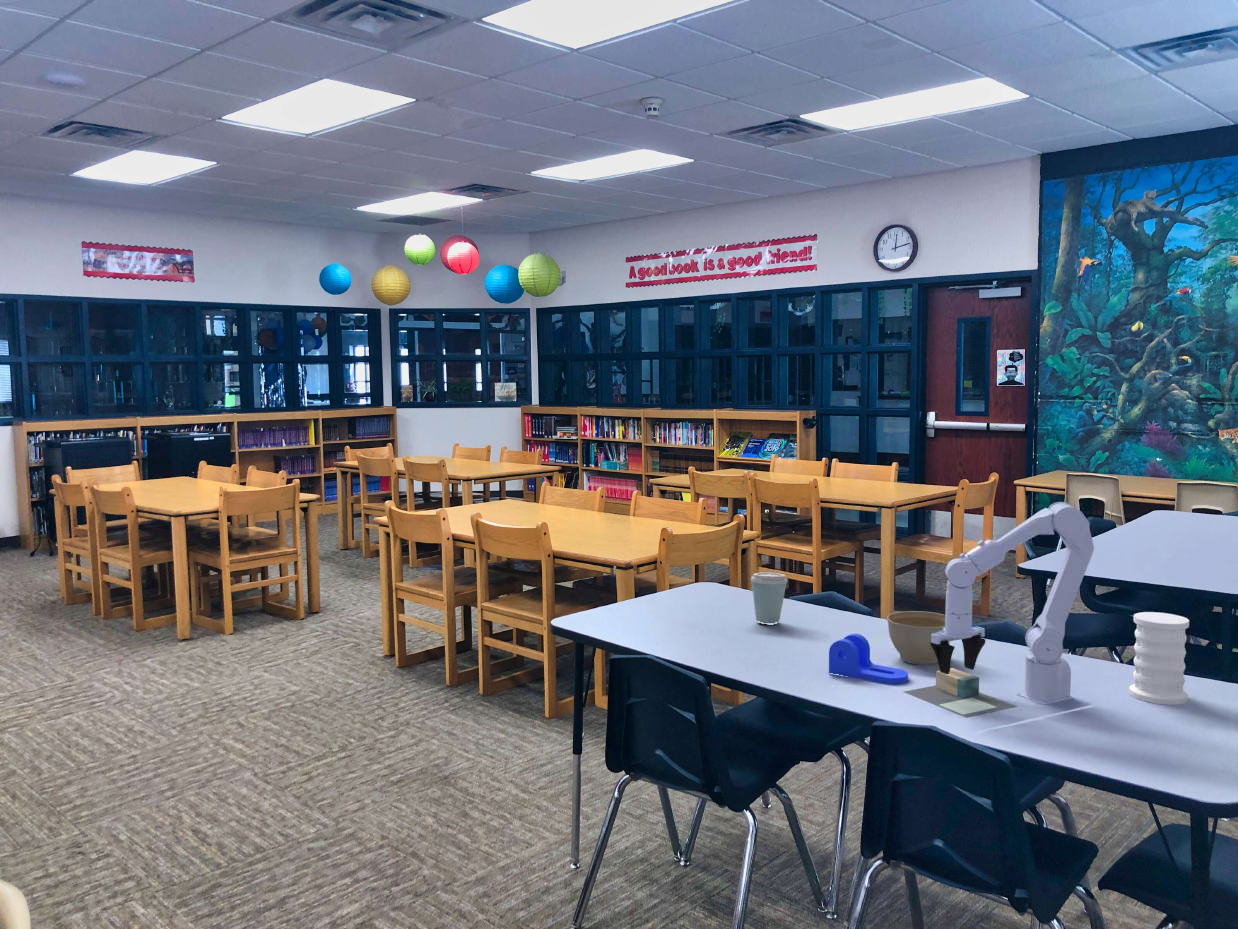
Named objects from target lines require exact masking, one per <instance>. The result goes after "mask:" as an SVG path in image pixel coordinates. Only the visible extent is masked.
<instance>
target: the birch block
mask: <svg viewBox="0 0 1238 929" xmlns="http://www.w3.org/2000/svg"><path fill="white" fill-rule="evenodd" d="M935 685H936V688H937V689H940V690H942V691H945V692H948V693H950V694H953V695H955V696H958V697H960V698H966V697H971V696H976V695H979V692H980V677H979V676H976V675H973V674H970V673H968V672H964V671H961V670H959V669H956V668H953V667H950V672H949V674H944V673H941V672H940V670H936V672H935Z"/></svg>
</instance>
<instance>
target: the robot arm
mask: <svg viewBox="0 0 1238 929" xmlns="http://www.w3.org/2000/svg"><path fill="white" fill-rule="evenodd" d="M1086 517H1087V516H1085V515H1084V513H1083V512H1082V511H1081V510H1080V509H1078V508H1077V507H1074V506H1072V505H1071V504H1070V503H1068V502H1065V501H1058V502H1053V503H1052V504H1050V505H1049V507H1048V508H1047V507H1045V508H1043V509H1040V510H1039V511H1038V512H1036V513H1035V514H1033V515H1032V516H1030V517H1028V519H1026V520H1024V521H1023V522H1022V523H1020V524H1019V525H1017V526H1016V527H1014V528H1013V529H1011V530H1010V531H1009V532H1007V533H1006V534H1005V535H1003V536H1001V537H999V539H995V540H994V539H987V540H985V541H984V540H983V539H981V540H979V541H978V542H977V544H978V545H977V546H975V547H974V548H972V549H971V550H969V551H967V552H966V553H964V552H962V553H960V554H959V556H958V557H960V558H954V559H951V560H950V561H949V562H948V563H947V565H946V566H945V569H944V574H945V577H946V578H947V581H946V591H945V612H944V613H945V614H944V615H945V627H943V630H942V631H939V632H937V633H934V634H931V641H930V645H931V646H932V648H933V650H934V652H935V654H936V657H937V660H938V662H937V664H938V668H939V671H940V672H941V673H944V674H949V672H950V668H951V663H952V662H951V660H952V655H953V654H954V650H955V648H956V646H954V645H951V644H950V642H952V641H958V640H961V643H962V648H963V656H964V657H963V663H964V668H966V669H969V670H975V666H976V663H977V660H978V657H979V655H980V652H981V650H982V649H983V647H984V646H985V644H986V639H985V638H984V637H985V630H986V629H985V628H984V627H981V626H973V622H972V621H973V599H974V598H973V597H974V596H973V595H974V593H973V584H974V582H975V580H976V577H981V575H984V574H985V573H986V572H989V570H991V569H992V568H994V567H996V566H998V565H999V564H1001V563H1003V562H1004V561H1005V556H1006V554H1007V553H1008V552H1010V551H1011V550H1013V549H1014V548H1015V549H1016V548H1017V547H1018V546H1020V545H1022V544H1023V543H1026V542H1027V541H1029V540H1030V539H1032V538H1035V537H1036V536H1038V535H1055V532H1056V533H1057V534H1058V535H1059V536H1060V538H1061V540H1062V542H1063V544H1064V545H1065V547H1066V551H1065V552H1064V553H1065V554H1064V556H1063V559H1062V561H1061V564H1060V566H1059V569H1058V571H1057V574H1056V576H1055V579H1054V581H1053V585H1052V587H1051V588H1050V592H1049V593H1048V597H1047V599H1046V601H1045V604H1044V606H1043V610H1042V612H1041V614H1040V615H1038V617H1037V618H1036V620H1035V622H1034V624H1033V626H1032V627H1030V628H1029V629H1027V631H1026V634H1025V635H1024V639H1025V643H1026V646H1027V647H1028V648H1029V650H1028V652H1027V653H1026V655H1025V673H1024V674H1025V678H1024V679H1025V680H1024V691H1020V692H1016V693H1015V695H1016V696H1019V697H1021V698H1024V699H1027V700H1030V701H1033V702H1036V703H1038V704H1041V705H1045V706H1047V705H1051V704H1055V703H1059V702H1063V701H1068V700H1073V699H1074V697H1073V696H1072V695H1071V683H1072V682H1071V681H1072V680H1071V679H1072V678H1071V677H1072V670H1071V666H1070V664H1069V663H1068V661H1067V660H1066V659H1065V658H1063V657H1062V655H1063V654H1064V653H1063V652H1064V646H1063V641H1064V637H1065V634H1066V633H1065V631H1066V630H1065V629H1066V622H1067V620H1068V617H1069V614H1070V612H1071V609H1072V606H1073V604H1074V602H1075V598H1076V597H1077V595H1078V594H1077V593H1078V591H1079V589H1080V586H1081V584H1082V582H1083V578H1084V577H1085V574H1086V572H1087V569H1088V566H1089V564H1090V561H1091V559H1092V556H1093V553H1094V549H1095V547H1094V541H1093V537H1092V533H1091V530H1090V521H1089V520H1088V519H1087V518H1086ZM948 641H950V642H949V643H948Z"/></svg>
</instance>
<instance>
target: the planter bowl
mask: <svg viewBox="0 0 1238 929" xmlns="http://www.w3.org/2000/svg"><path fill="white" fill-rule="evenodd" d="M886 619H887V625H888V626H887V628H888V634H889V637H890V640H891V642H892V644H893V647H894V648H895V650H896V651H897V652H898V654H899V656H900V660H901V659H902V660H901V661H903V662H905V661H906V662H905V663H907V662H910V663H909V664H911V663H912V665H932V664H938V660H937V657H936V654H935V652H934V650H933V648H932V646H931V645H930V641H931V634H934V633H937V632H939V631H942V630H943V627H945V614H942V613H939V612H931V611H923V610H921V611H917V610H912V611H909V610H907V611H898V612H893V613H890V614H889V615H887V617H886ZM950 642H951V641H948V643H949V644H950Z"/></svg>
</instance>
